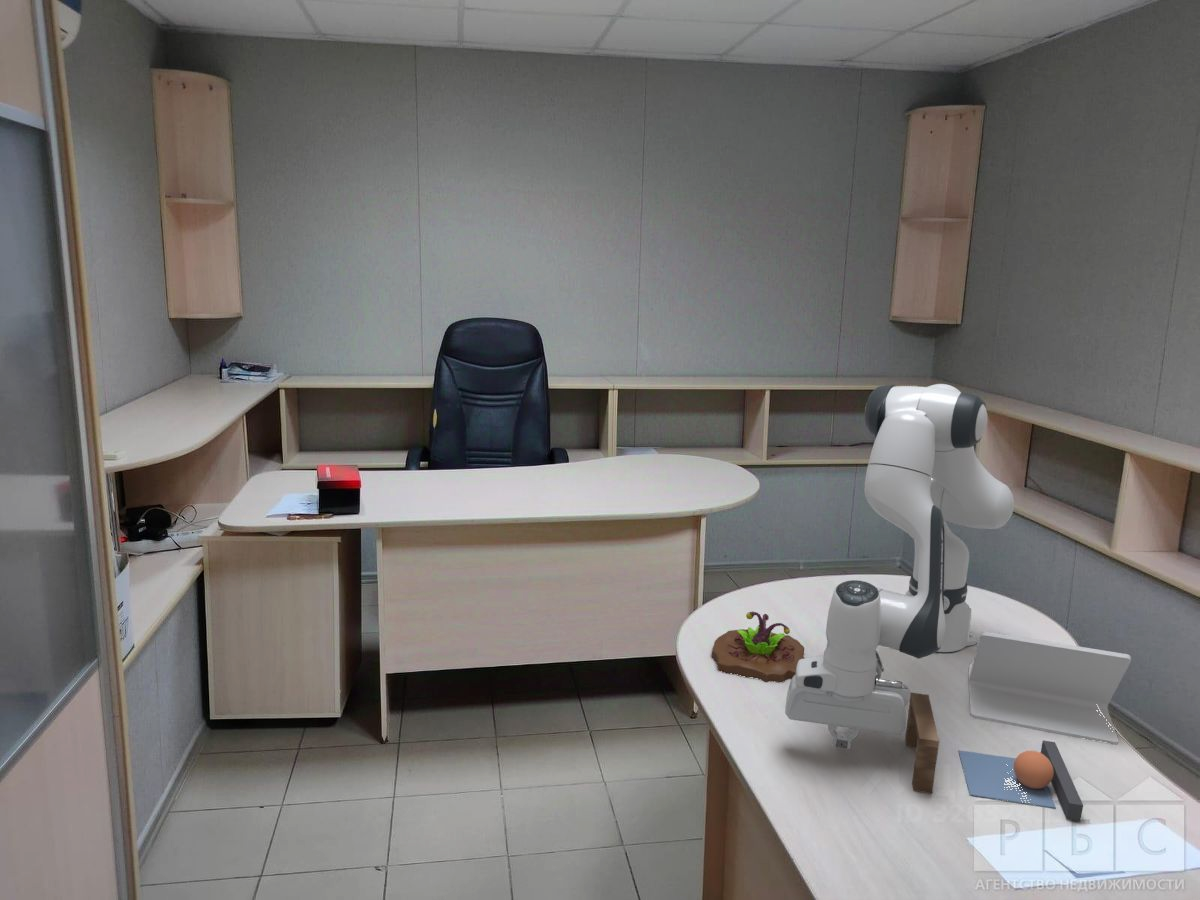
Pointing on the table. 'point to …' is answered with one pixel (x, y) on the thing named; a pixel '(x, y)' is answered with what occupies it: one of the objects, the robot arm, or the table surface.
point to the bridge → (922, 741)
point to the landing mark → (999, 780)
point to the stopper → (1063, 783)
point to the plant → (758, 652)
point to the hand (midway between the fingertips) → (841, 746)
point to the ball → (1033, 769)
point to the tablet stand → (1045, 685)
